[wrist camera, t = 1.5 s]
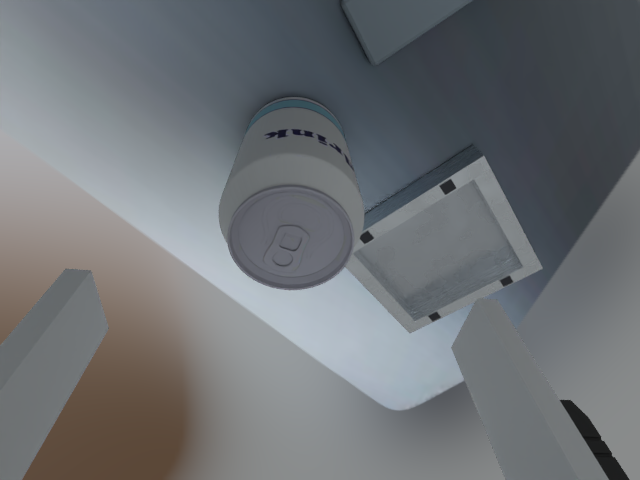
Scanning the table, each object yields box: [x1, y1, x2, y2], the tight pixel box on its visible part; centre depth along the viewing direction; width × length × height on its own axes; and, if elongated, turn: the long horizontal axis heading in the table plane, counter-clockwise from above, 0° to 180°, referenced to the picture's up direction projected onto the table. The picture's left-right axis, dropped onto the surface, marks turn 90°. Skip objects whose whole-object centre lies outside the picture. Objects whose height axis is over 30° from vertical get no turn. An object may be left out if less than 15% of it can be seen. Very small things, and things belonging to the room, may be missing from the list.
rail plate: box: [345, 145, 543, 333], centre depth 30 cm, size 13×13×2 cm
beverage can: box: [219, 97, 364, 290], centre depth 20 cm, size 7×7×12 cm
